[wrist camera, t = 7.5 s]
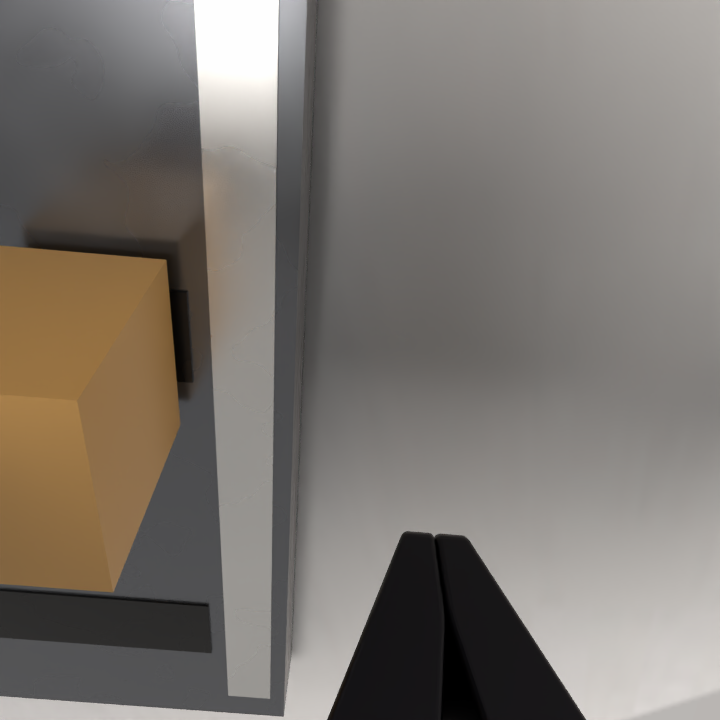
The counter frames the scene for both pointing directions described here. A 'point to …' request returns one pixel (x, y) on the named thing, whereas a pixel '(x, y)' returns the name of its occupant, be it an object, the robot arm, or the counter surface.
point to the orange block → (81, 411)
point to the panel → (176, 325)
